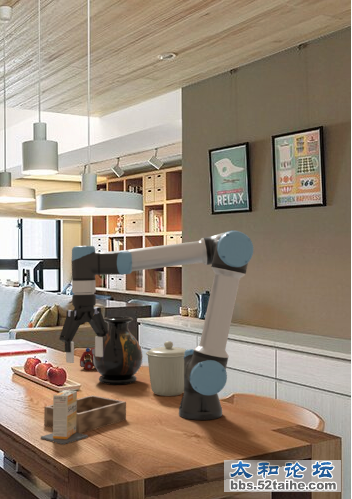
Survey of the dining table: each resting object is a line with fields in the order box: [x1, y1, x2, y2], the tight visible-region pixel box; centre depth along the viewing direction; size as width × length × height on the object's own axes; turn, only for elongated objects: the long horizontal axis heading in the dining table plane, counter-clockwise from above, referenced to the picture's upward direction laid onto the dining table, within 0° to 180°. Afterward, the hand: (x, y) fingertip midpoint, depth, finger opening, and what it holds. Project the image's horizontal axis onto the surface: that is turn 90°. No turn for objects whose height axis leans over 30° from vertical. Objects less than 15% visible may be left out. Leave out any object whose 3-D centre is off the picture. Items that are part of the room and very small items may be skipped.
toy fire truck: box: [79, 347, 95, 371], centre depth 316 cm, size 7×12×10 cm, turn 110°
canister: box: [145, 340, 187, 397], centre depth 262 cm, size 18×18×21 cm
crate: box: [43, 394, 127, 434], centre depth 217 cm, size 22×16×6 cm
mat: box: [40, 432, 89, 445], centre depth 198 cm, size 10×10×1 cm
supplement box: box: [52, 389, 78, 439], centre depth 198 cm, size 8×5×13 cm, turn 168°
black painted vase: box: [93, 316, 143, 386], centre depth 285 cm, size 22×22×28 cm
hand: (85, 359), depth 210 cm, fingers open, 13 cm apart
